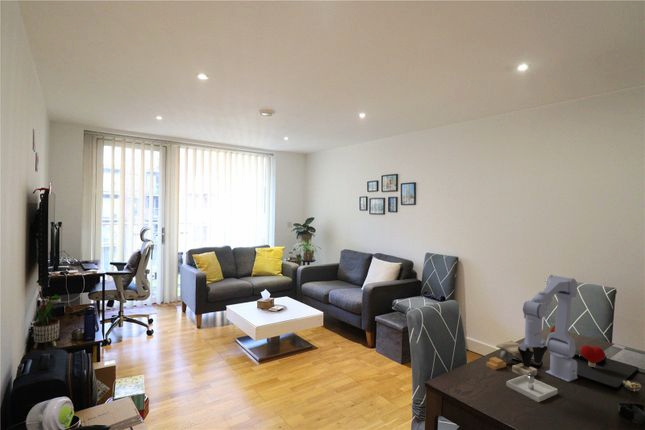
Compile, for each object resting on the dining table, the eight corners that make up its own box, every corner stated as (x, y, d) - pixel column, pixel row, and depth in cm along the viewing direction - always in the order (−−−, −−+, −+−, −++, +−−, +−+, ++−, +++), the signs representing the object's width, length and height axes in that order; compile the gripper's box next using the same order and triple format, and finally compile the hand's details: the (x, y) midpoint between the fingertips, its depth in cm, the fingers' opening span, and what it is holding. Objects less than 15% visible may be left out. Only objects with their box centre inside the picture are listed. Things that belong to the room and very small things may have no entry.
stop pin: (534, 389, 138) (535, 374, 138) (531, 390, 137) (532, 375, 137) (530, 387, 140) (530, 372, 139) (526, 388, 139) (527, 373, 139)
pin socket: (536, 374, 151) (537, 369, 151) (527, 378, 148) (527, 372, 148) (521, 368, 157) (521, 362, 157) (512, 371, 154) (512, 365, 154)
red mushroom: (582, 368, 158) (583, 347, 158) (577, 362, 165) (578, 342, 165) (607, 372, 155) (608, 351, 155) (601, 366, 161) (602, 345, 161)
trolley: (528, 362, 164) (529, 347, 164) (511, 368, 157) (511, 352, 157) (510, 355, 172) (511, 341, 171) (493, 360, 165) (493, 345, 165)
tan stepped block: (494, 370, 155) (495, 363, 155) (486, 366, 159) (486, 359, 159) (506, 367, 159) (506, 359, 159) (497, 363, 163) (497, 356, 163)
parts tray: (557, 393, 136) (557, 389, 136) (538, 402, 129) (538, 396, 129) (524, 379, 147) (524, 374, 147) (506, 386, 141) (506, 381, 141)
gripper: (533, 337, 131) (531, 372, 131) (553, 331, 138) (552, 365, 138) (515, 331, 137) (514, 365, 137) (535, 326, 144) (534, 358, 144)
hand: (532, 364), depth 138 cm, fingers open, 7 cm apart
